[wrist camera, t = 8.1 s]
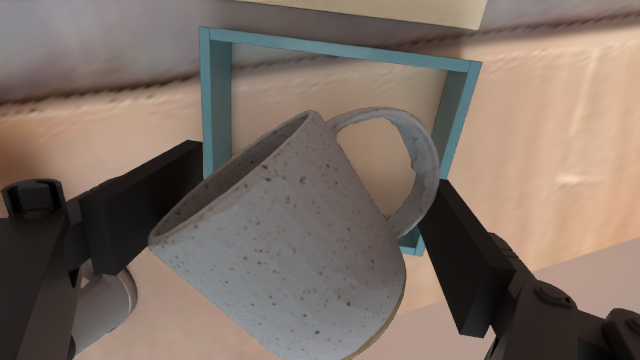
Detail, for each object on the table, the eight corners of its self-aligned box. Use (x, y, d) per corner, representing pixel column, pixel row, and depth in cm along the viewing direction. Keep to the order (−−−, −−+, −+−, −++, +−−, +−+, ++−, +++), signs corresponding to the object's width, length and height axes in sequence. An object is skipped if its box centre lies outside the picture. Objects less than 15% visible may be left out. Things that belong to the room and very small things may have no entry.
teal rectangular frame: (224, 202, 36) (206, 224, 32) (222, 30, 29) (198, 25, 24) (413, 230, 36) (422, 257, 31) (461, 60, 28) (483, 61, 24)
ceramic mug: (296, 281, 18) (264, 425, 11) (203, 177, 16) (91, 273, 9) (461, 193, 15) (561, 314, 8) (375, 50, 13) (409, 45, 6)
